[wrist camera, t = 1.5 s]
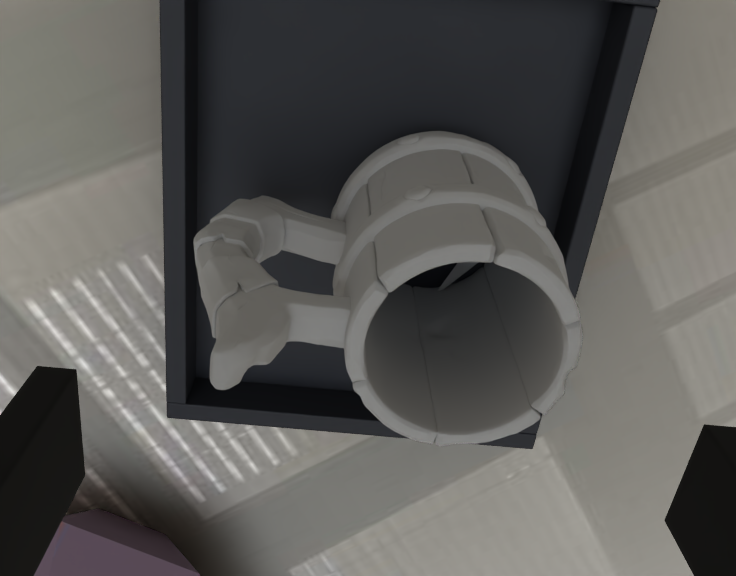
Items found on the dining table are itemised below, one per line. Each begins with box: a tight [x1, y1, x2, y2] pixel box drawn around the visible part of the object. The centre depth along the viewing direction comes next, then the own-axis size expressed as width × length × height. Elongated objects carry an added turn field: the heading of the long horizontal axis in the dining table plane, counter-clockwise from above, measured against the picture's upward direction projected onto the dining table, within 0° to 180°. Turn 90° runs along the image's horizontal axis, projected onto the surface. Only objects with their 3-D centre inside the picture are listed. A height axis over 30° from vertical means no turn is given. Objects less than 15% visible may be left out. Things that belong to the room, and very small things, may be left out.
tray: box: [160, 0, 660, 449], centre depth 26 cm, size 19×16×3 cm
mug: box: [193, 131, 583, 446], centre depth 22 cm, size 8×12×12 cm, turn 81°
